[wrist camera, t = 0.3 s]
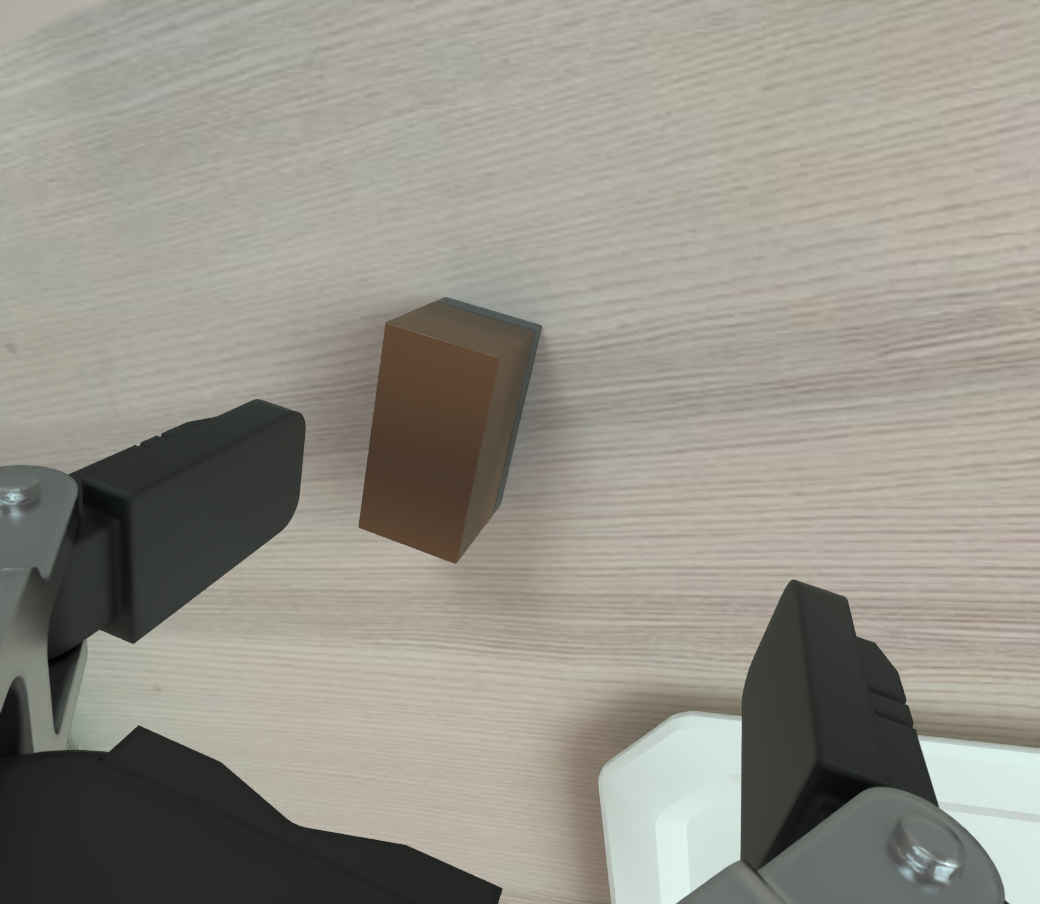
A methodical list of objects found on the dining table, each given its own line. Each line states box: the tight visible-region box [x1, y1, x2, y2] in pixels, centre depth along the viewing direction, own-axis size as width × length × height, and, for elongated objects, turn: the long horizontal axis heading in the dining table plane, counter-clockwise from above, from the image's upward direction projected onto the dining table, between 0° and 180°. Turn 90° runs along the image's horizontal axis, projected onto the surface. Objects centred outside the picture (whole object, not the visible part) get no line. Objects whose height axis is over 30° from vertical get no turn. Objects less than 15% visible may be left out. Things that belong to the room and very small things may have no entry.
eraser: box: [359, 297, 542, 564], centre depth 26 cm, size 8×4×5 cm, turn 167°
